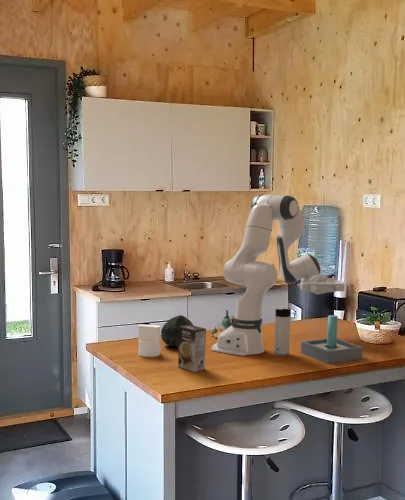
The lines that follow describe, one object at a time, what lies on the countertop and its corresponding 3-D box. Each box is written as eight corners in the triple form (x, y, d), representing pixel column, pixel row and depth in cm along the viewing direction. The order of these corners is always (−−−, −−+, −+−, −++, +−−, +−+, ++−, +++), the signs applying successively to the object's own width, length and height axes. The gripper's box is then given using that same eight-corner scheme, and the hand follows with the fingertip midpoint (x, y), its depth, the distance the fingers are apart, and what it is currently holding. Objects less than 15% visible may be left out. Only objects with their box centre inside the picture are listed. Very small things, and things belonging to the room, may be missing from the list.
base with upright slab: (162, 352, 268) (163, 324, 267) (155, 357, 260) (156, 328, 258) (143, 350, 271) (143, 322, 269) (134, 355, 262) (135, 327, 261)
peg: (325, 354, 267) (327, 316, 265) (327, 351, 271) (328, 314, 269) (335, 355, 266) (337, 317, 264) (336, 352, 270) (338, 315, 268)
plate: (328, 358, 260) (329, 351, 260) (311, 351, 271) (311, 344, 270) (351, 355, 266) (352, 348, 265) (333, 348, 276) (333, 342, 276)
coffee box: (177, 367, 247) (178, 326, 245) (189, 364, 251) (190, 323, 250) (193, 372, 240) (194, 330, 239) (205, 369, 245) (206, 328, 243)
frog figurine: (222, 333, 305) (225, 304, 303) (244, 346, 291) (248, 314, 288) (205, 335, 300) (208, 305, 297) (227, 348, 286) (231, 316, 283)
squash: (171, 327, 290) (164, 307, 280) (202, 332, 286) (196, 311, 275) (161, 353, 281) (153, 333, 271) (193, 358, 277) (186, 338, 266)
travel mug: (277, 357, 265) (279, 309, 263) (271, 353, 271) (273, 306, 269) (291, 356, 266) (293, 309, 264) (285, 352, 273) (287, 306, 271)
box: (327, 363, 256) (328, 351, 256) (300, 352, 272) (301, 341, 272) (362, 358, 265) (362, 347, 264) (334, 348, 280) (334, 337, 280)
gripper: (296, 277, 296) (304, 281, 282) (338, 278, 298) (349, 282, 284) (295, 290, 296) (304, 295, 282) (338, 291, 299) (348, 296, 285)
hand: (327, 289), depth 283 cm, fingers open, 8 cm apart
